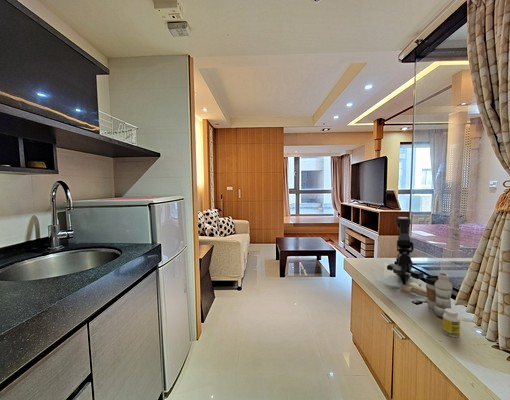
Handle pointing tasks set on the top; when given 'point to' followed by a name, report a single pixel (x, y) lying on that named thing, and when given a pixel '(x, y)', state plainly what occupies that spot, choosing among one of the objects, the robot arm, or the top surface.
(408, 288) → the oak T block
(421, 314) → the top surface
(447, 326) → the supplement bottle
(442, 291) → the plastic bottle
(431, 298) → the coffee cup
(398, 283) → the grey flat panel
